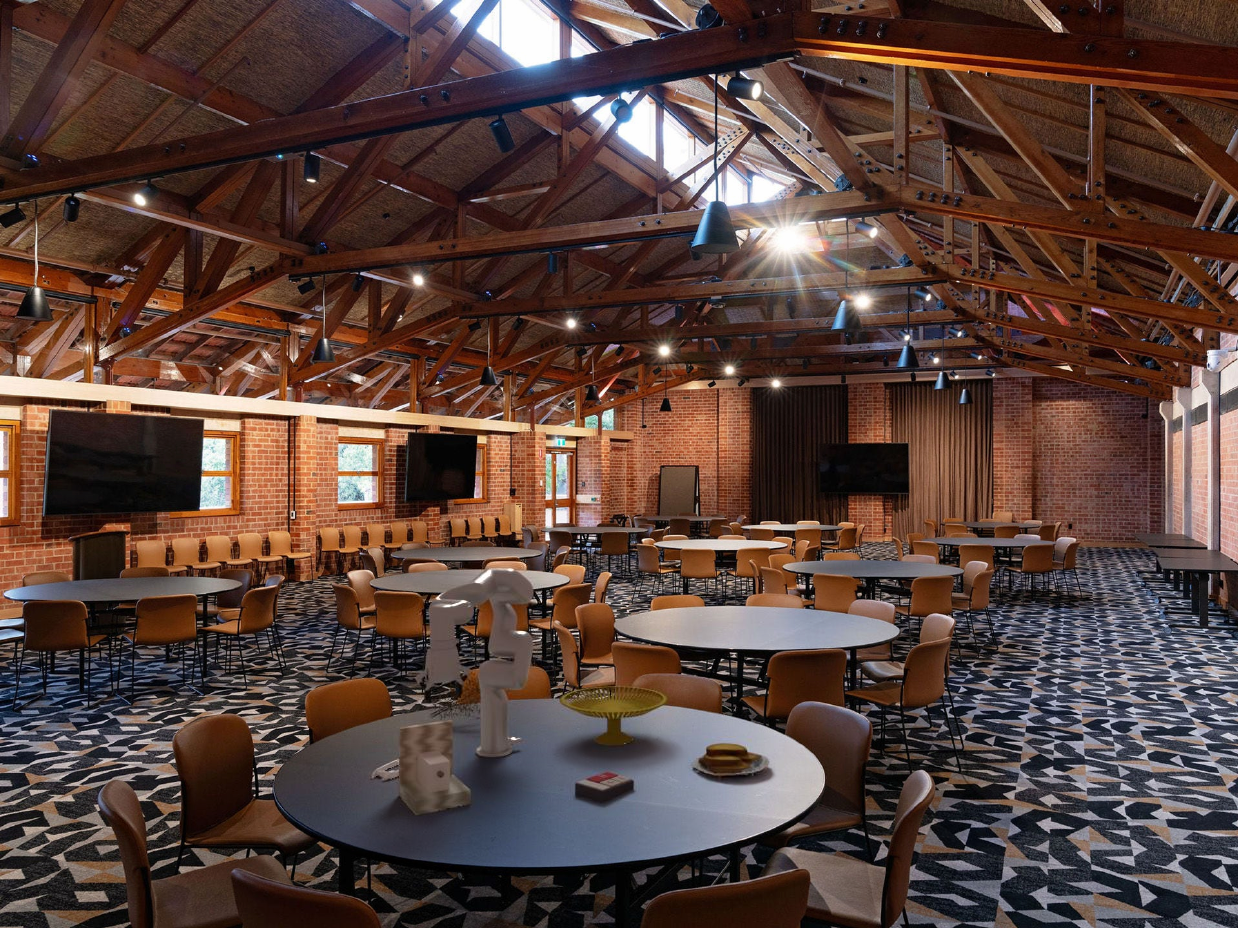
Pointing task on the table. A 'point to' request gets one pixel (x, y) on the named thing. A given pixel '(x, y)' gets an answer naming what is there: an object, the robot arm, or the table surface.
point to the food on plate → (730, 760)
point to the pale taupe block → (433, 771)
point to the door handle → (386, 774)
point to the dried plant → (459, 700)
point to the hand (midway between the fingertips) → (443, 699)
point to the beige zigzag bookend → (409, 787)
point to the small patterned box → (603, 787)
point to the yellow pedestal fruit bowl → (613, 709)
